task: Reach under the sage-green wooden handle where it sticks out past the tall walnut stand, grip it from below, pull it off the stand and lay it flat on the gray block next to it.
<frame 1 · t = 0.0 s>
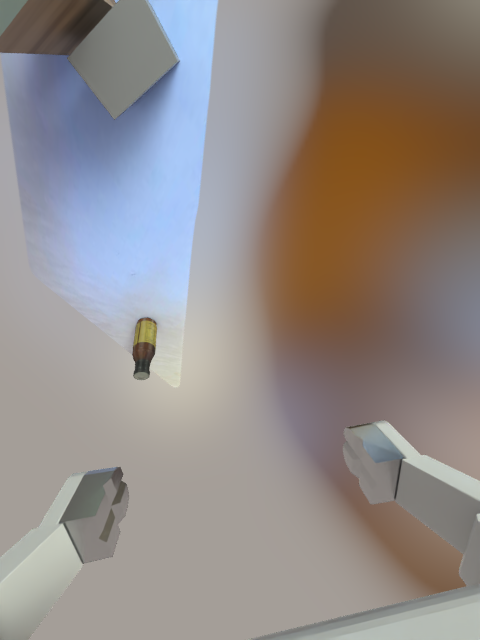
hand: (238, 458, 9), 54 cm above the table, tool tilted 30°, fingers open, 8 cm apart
sauce bottle: (147, 322, 79), on the table
gray block: (141, 59, 37), on the table
walnut stand: (86, 11, 33), on the table
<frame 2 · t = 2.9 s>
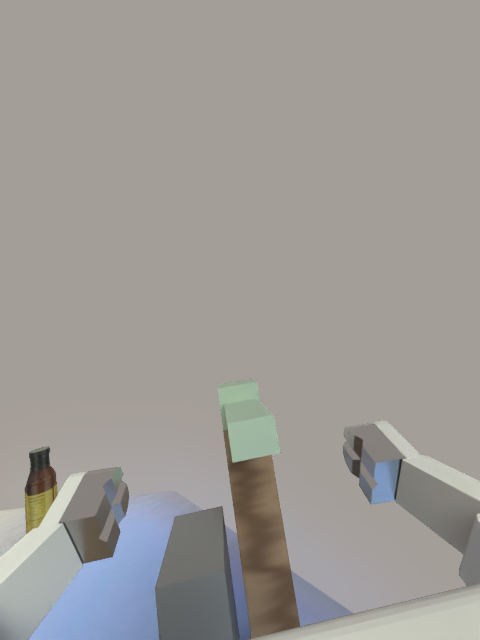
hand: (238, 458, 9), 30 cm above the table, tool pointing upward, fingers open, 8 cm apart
sauce bottle: (42, 535, 59), on the table
green handle: (245, 431, 28), point 26 cm above the table, touching walnut stand
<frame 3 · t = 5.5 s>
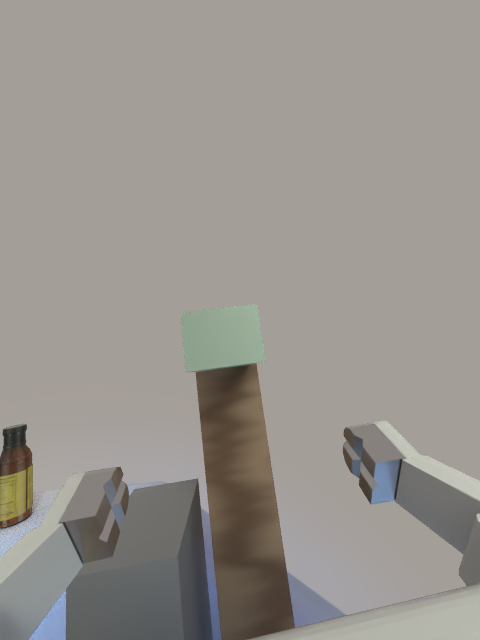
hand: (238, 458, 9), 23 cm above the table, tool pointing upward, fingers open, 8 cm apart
sauce bottle: (13, 522, 53), on the table
green handle: (226, 368, 20), point 26 cm above the table, touching walnut stand
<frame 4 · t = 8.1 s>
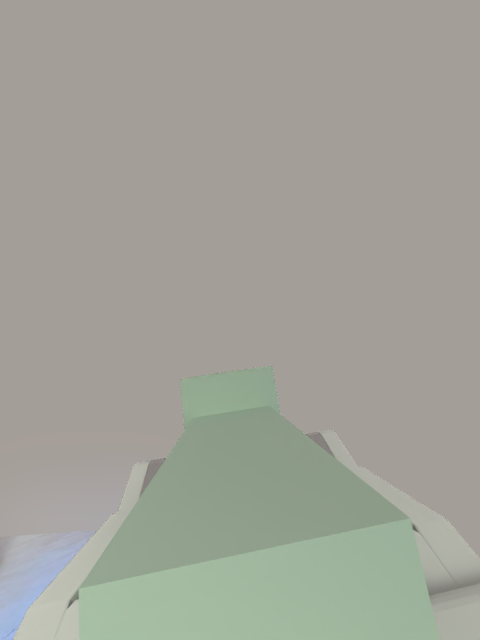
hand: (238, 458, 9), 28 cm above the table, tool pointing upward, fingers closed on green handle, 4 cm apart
green handle: (242, 494, 10), point 26 cm above the table, touching gripper, walnut stand
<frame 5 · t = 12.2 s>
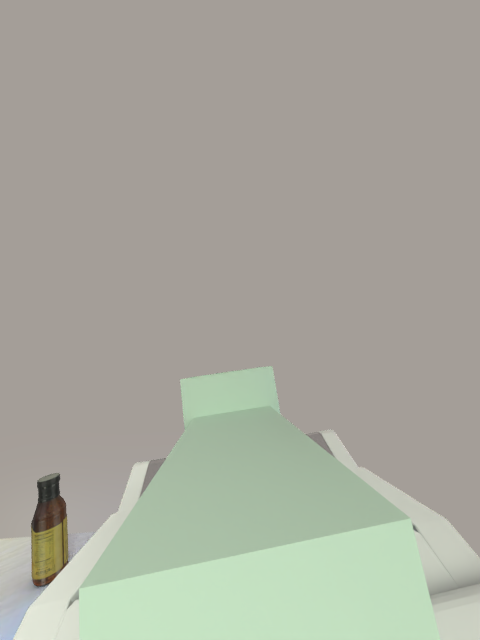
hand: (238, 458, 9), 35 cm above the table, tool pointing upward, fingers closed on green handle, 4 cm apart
sauce bottle: (50, 577, 52), on the table
green handle: (243, 494, 10), point 33 cm above the table, touching gripper
when the fingers open (20 cm above the table, at t = 16.5 s): green handle drops 2 cm, resting on gray block.
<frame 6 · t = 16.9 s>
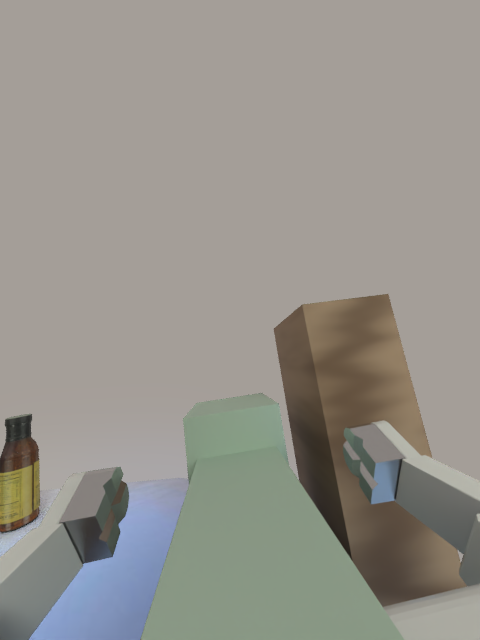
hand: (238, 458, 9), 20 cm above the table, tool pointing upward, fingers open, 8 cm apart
sauce bottle: (17, 525, 46), on the table
green handle: (249, 550, 10), point 16 cm above the table, touching gray block
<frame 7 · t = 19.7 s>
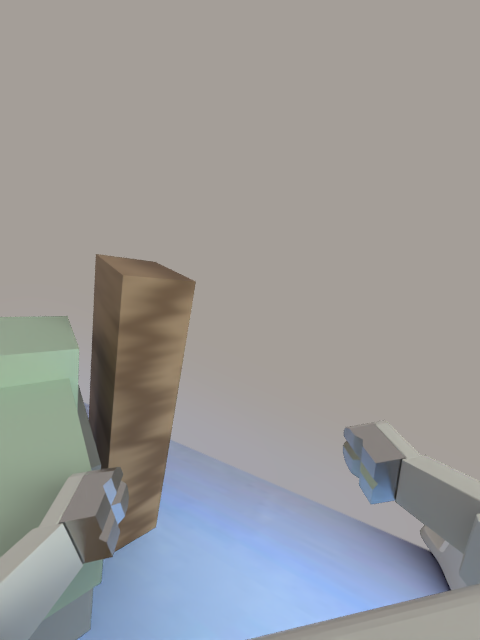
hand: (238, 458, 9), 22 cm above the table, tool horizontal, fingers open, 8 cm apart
green handle: (29, 449, 14), point 16 cm above the table, touching gray block
gray block: (35, 584, 20), on the table
walnut stand: (119, 505, 26), on the table
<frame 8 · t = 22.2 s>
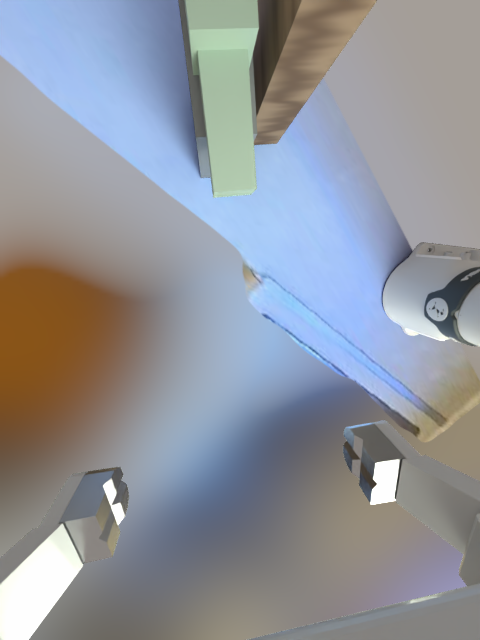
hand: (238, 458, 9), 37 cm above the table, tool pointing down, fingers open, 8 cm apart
green handle: (223, 101, 23), point 16 cm above the table, touching gray block
gray block: (215, 139, 37), on the table
walnut stand: (259, 113, 37), on the table
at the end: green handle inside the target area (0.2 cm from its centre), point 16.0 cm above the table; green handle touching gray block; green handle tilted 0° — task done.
